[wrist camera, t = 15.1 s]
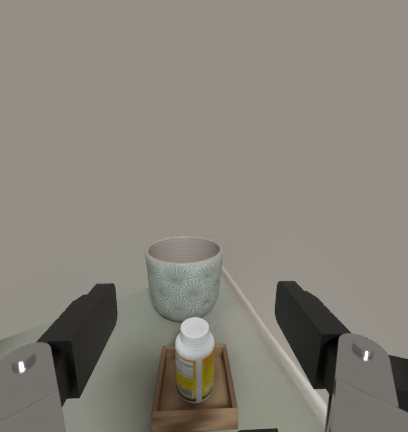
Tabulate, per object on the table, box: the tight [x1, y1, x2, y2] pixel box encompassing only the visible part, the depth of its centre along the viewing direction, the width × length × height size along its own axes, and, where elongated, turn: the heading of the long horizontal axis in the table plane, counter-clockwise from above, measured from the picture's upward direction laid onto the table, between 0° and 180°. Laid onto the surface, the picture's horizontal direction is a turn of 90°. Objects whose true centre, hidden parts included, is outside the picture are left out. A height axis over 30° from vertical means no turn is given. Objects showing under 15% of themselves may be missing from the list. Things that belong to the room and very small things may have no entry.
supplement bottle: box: [175, 317, 214, 403], centre depth 31 cm, size 6×6×10 cm
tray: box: [151, 344, 238, 432], centre depth 32 cm, size 11×11×3 cm
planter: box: [145, 236, 223, 322], centre depth 49 cm, size 17×17×15 cm
